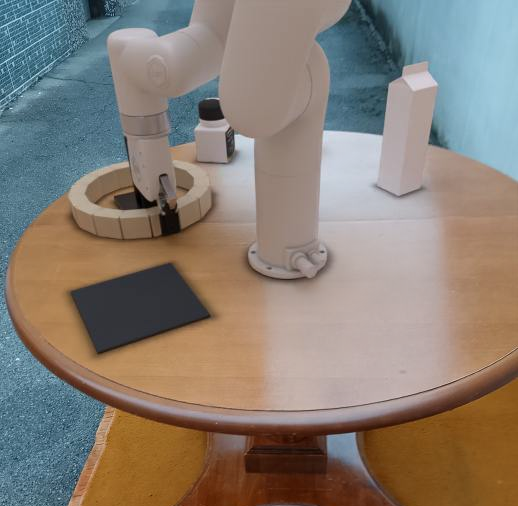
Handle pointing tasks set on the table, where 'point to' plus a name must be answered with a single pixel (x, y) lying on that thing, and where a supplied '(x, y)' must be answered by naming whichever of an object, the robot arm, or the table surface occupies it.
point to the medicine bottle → (213, 133)
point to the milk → (407, 129)
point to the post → (131, 193)
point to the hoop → (138, 220)
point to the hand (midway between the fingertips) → (161, 222)
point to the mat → (137, 306)
